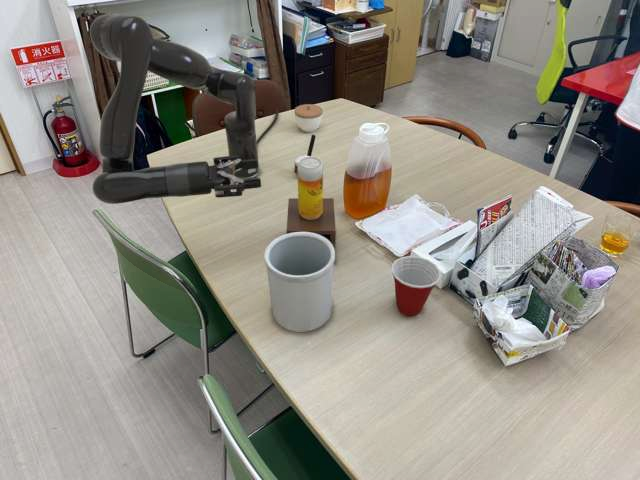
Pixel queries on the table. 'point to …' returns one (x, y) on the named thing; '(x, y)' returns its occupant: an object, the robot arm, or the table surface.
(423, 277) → the plastic cup
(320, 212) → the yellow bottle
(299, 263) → the utensil holder
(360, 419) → the table surface
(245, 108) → the robot arm
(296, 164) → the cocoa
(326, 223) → the brown wood-grain cube
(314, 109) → the trinket box
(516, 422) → the table surface
